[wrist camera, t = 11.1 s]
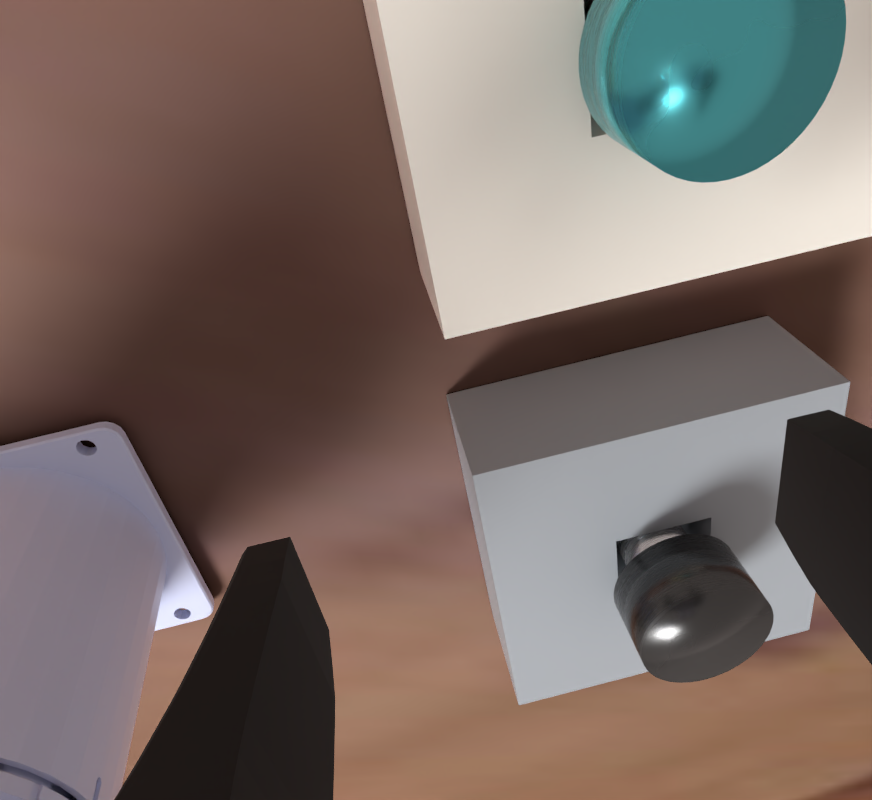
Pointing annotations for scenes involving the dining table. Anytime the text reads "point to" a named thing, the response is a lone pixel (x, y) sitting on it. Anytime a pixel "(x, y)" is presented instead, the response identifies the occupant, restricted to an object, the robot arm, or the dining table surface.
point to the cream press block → (584, 168)
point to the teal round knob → (709, 78)
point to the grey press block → (631, 485)
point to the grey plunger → (689, 605)
